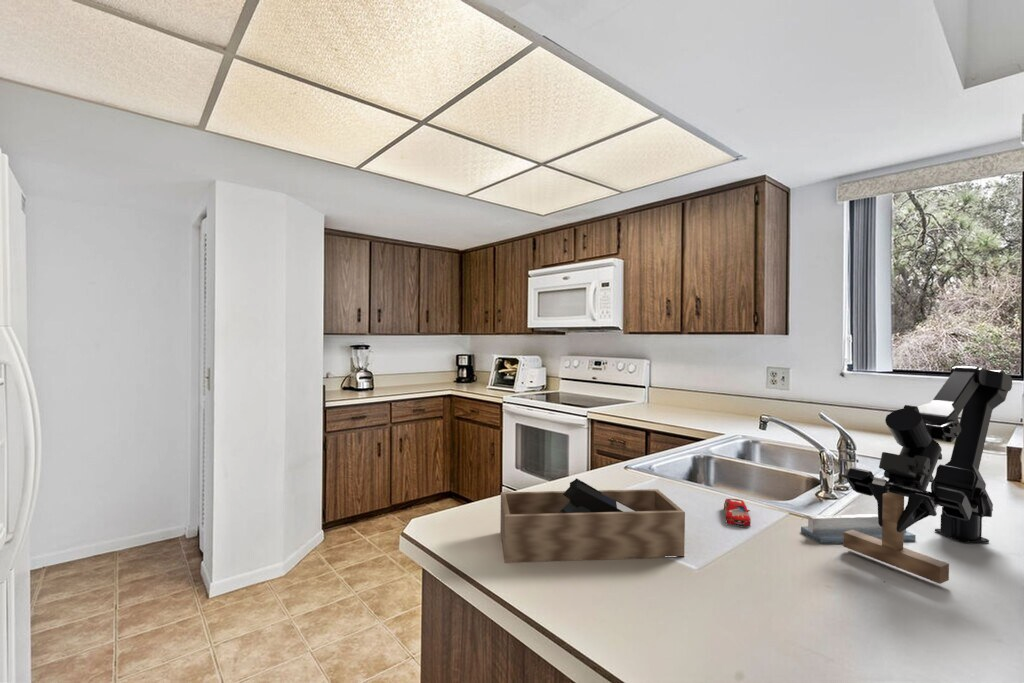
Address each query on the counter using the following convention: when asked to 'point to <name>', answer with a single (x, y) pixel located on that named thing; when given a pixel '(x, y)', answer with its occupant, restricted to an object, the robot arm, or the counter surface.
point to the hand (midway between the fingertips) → (889, 528)
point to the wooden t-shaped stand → (896, 544)
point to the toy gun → (590, 500)
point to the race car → (736, 513)
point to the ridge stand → (845, 527)
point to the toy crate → (590, 527)
